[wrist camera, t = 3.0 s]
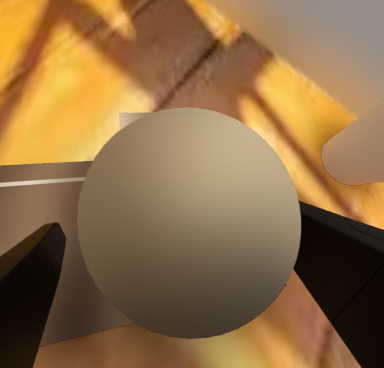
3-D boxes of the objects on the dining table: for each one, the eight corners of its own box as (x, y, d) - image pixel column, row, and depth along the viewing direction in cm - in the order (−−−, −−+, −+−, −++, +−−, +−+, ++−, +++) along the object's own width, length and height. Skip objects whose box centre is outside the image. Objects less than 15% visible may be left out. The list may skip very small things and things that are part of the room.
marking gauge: (179, 142, 18) (239, -77, 5) (193, 245, 16) (361, 293, 3) (128, 143, 17) (48, -128, 4) (135, 254, 15) (1, 398, 2)
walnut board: (244, 160, 20) (255, 152, 18) (271, 279, 17) (287, 285, 15) (-132, 183, 13) (-185, 174, 11) (-195, 389, 10) (-281, 427, 8)
